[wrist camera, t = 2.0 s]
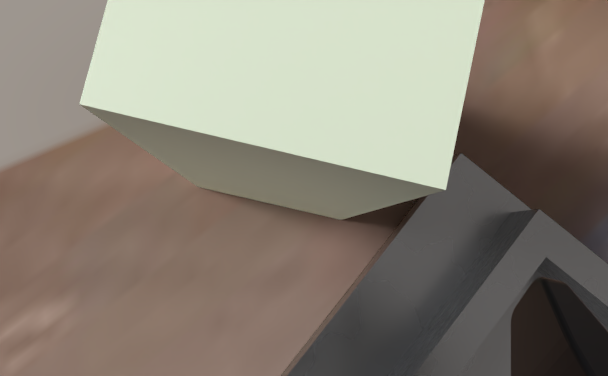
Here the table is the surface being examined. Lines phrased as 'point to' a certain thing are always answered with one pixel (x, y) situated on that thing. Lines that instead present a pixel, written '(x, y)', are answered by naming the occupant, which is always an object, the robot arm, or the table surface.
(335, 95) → the sage block
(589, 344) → the robot arm
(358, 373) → the grey rectangular tray
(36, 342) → the table surface
